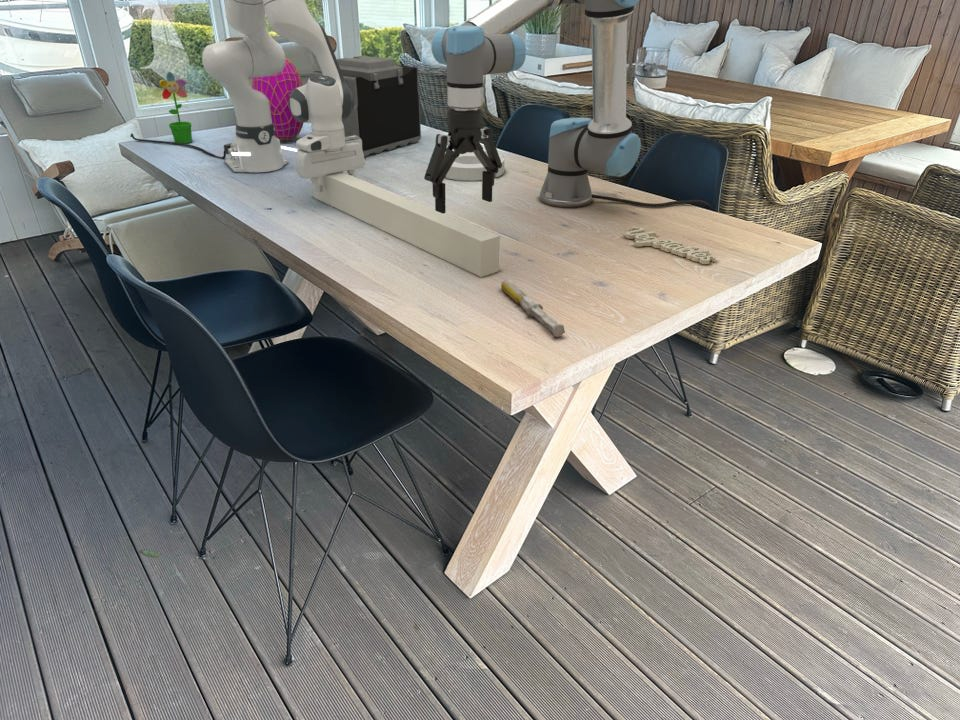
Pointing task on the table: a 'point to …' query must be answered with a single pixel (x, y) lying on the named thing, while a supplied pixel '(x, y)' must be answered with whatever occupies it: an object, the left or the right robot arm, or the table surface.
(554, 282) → the table surface
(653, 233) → the decorative sign
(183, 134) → the potted flower
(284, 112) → the decorative egg
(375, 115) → the cooler box
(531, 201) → the table surface
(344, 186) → the post
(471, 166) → the ashtray
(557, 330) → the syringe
